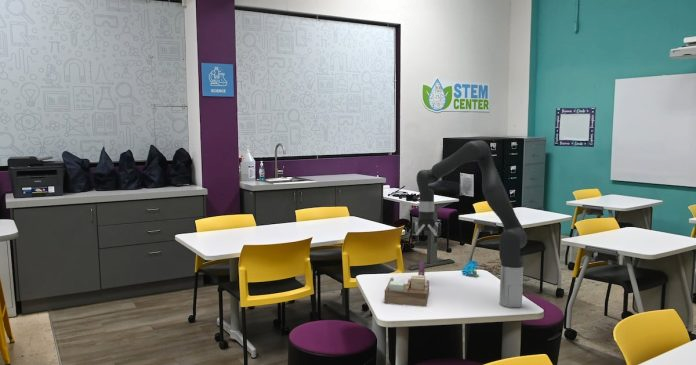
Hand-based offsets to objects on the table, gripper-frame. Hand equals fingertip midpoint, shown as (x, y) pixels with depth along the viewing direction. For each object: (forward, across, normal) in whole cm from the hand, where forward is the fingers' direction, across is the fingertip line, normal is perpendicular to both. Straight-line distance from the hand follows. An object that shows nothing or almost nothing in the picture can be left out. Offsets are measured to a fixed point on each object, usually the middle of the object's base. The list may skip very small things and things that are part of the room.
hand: (426, 242), depth 267 cm
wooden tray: (+20, -7, -27) cm, 34 cm away
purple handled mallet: (+19, -2, -11) cm, 22 cm away
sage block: (+17, -11, -34) cm, 39 cm away
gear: (+20, +22, +20) cm, 36 cm away
